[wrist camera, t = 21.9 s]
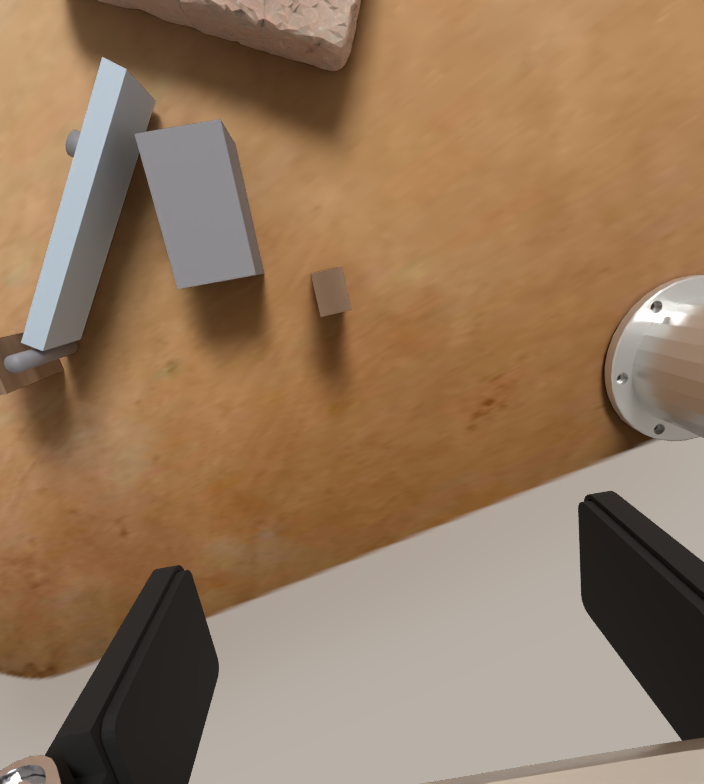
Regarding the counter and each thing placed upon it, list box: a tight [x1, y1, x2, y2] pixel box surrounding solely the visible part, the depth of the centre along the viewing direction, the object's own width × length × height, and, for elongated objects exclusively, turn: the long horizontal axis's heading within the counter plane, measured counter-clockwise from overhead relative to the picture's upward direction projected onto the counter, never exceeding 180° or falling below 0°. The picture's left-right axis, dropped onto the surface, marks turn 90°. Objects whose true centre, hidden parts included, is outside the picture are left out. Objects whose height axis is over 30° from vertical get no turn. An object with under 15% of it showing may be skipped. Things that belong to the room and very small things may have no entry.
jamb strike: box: [311, 267, 352, 317], centre depth 28 cm, size 2×2×6 cm
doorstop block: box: [135, 119, 264, 289], centre depth 27 cm, size 4×8×5 cm, turn 10°
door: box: [4, 57, 156, 373], centre depth 26 cm, size 17×2×6 cm, turn 156°
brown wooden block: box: [0, 333, 64, 395], centre depth 28 cm, size 2×3×6 cm
